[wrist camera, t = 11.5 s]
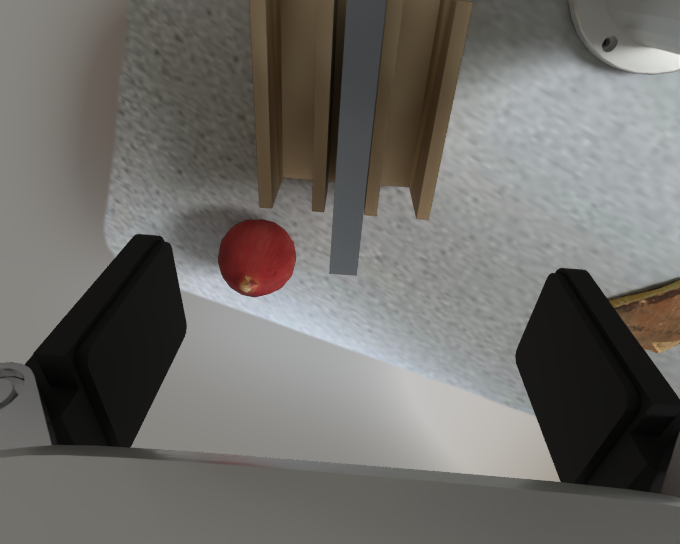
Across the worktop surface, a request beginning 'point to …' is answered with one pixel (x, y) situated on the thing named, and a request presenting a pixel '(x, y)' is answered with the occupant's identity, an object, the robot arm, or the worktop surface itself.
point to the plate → (355, 128)
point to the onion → (256, 257)
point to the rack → (325, 94)
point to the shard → (652, 316)
